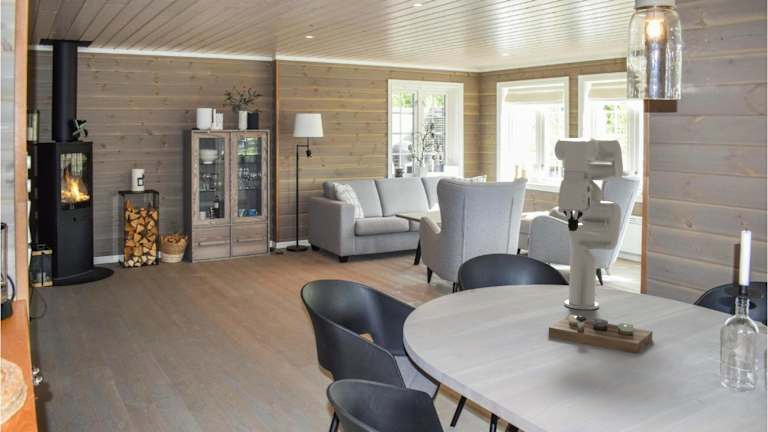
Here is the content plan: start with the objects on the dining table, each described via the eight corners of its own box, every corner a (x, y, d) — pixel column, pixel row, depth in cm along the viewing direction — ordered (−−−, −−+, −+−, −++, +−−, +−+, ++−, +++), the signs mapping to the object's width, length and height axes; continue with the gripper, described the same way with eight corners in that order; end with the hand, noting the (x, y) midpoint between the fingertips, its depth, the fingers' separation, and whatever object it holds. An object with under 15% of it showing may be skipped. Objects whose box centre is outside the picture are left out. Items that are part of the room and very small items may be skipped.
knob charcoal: (595, 334, 227) (596, 318, 226) (609, 336, 224) (609, 320, 224) (590, 337, 223) (591, 321, 223) (604, 340, 221) (605, 323, 220)
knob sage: (620, 338, 222) (621, 322, 221) (634, 341, 220) (635, 325, 219) (615, 342, 219) (616, 325, 218) (630, 344, 216) (630, 328, 215)
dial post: (577, 329, 223) (578, 314, 222) (587, 331, 221) (588, 316, 220) (573, 332, 220) (574, 316, 220) (583, 333, 218) (584, 318, 218)
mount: (567, 325, 238) (567, 316, 238) (652, 340, 222) (652, 331, 222) (548, 336, 226) (548, 327, 225) (636, 353, 209) (637, 343, 209)
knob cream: (571, 329, 232) (572, 314, 231) (584, 332, 229) (585, 316, 228) (566, 333, 228) (567, 317, 227) (579, 335, 225) (580, 319, 225)
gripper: (600, 177, 234) (598, 231, 237) (558, 175, 243) (556, 227, 246) (593, 178, 228) (590, 234, 231) (549, 176, 237) (547, 229, 240)
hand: (572, 230), depth 238 cm, fingers closed
